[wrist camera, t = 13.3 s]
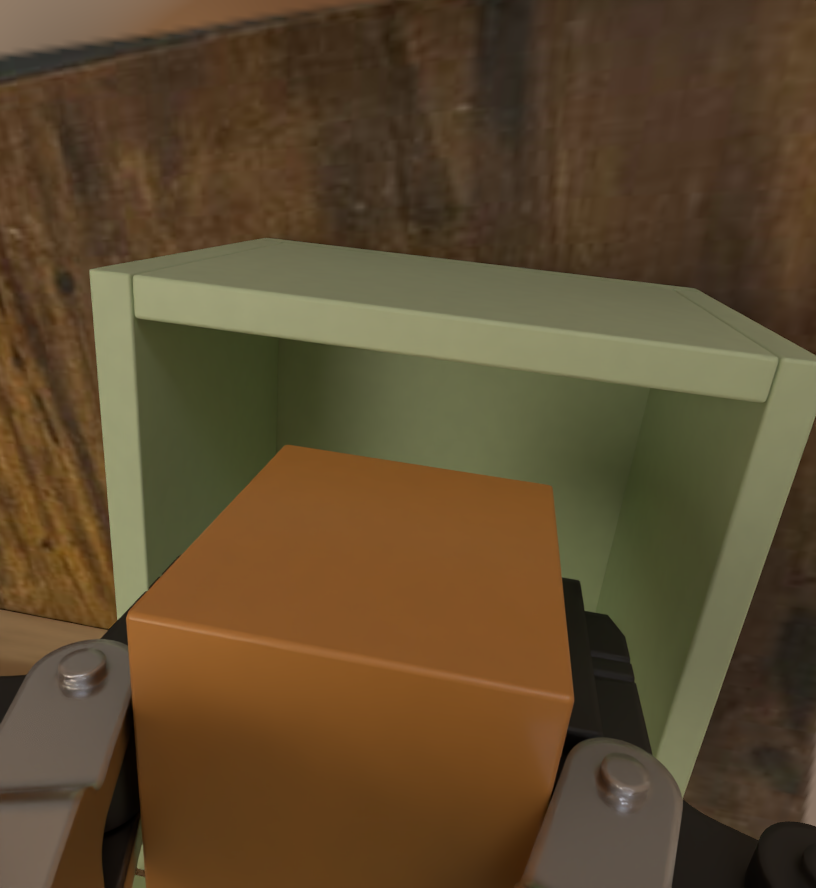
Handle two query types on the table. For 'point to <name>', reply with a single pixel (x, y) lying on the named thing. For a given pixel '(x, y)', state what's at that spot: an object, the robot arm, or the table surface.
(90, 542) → the table surface
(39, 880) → the robot arm
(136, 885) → the lid
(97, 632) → the tall wooden pillar
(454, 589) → the orange rectangular box
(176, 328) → the chest
